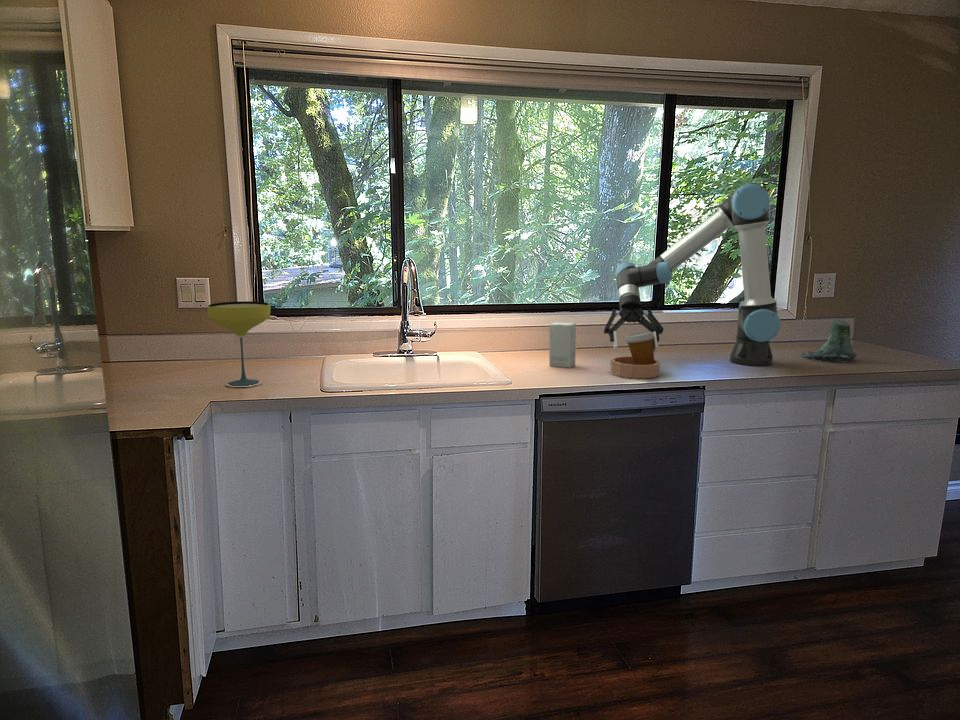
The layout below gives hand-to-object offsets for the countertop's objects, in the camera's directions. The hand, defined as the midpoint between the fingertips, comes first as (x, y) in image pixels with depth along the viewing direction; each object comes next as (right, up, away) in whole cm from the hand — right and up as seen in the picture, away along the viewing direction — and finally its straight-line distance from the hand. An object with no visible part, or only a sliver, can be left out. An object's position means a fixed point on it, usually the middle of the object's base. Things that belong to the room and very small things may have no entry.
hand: (635, 349), depth 227 cm
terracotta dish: (0, -8, +2) cm, 9 cm away
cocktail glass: (-127, -11, -19) cm, 129 cm away
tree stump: (+83, -3, +33) cm, 90 cm away
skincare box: (-24, -6, +14) cm, 28 cm away
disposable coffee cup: (+4, -7, +3) cm, 8 cm away
